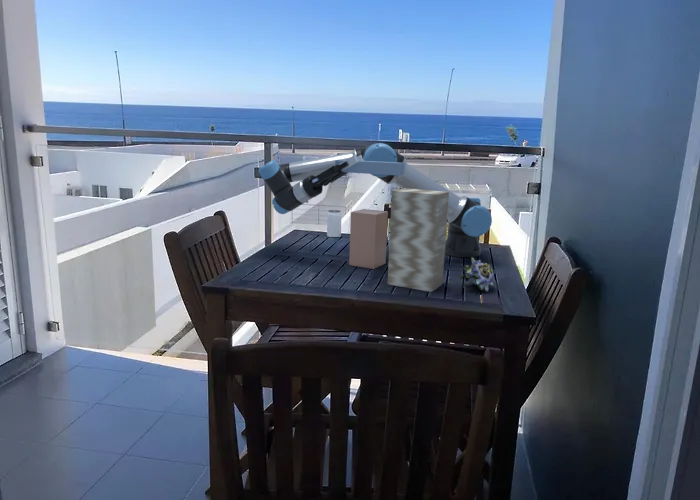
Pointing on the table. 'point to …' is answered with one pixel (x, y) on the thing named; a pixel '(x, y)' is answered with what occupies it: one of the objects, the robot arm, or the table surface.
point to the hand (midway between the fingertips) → (359, 158)
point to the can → (334, 223)
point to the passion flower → (479, 274)
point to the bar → (375, 167)
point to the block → (368, 238)
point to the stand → (417, 238)
